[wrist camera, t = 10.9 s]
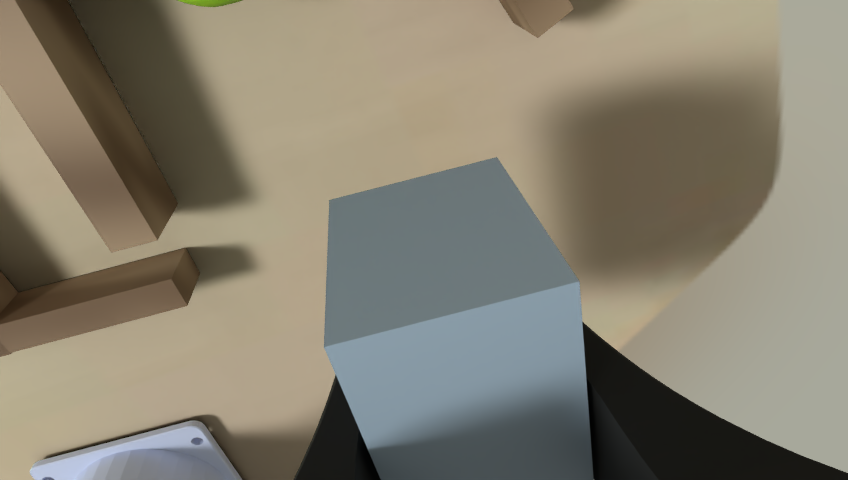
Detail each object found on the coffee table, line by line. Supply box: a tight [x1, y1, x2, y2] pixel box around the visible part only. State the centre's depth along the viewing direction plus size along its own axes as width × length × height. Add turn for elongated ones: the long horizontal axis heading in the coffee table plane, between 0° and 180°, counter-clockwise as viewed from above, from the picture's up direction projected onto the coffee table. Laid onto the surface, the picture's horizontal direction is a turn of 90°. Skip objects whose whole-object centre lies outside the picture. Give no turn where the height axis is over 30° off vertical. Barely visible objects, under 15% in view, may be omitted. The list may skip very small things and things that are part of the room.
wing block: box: [324, 157, 594, 480], centre depth 12 cm, size 8×4×5 cm, turn 12°
